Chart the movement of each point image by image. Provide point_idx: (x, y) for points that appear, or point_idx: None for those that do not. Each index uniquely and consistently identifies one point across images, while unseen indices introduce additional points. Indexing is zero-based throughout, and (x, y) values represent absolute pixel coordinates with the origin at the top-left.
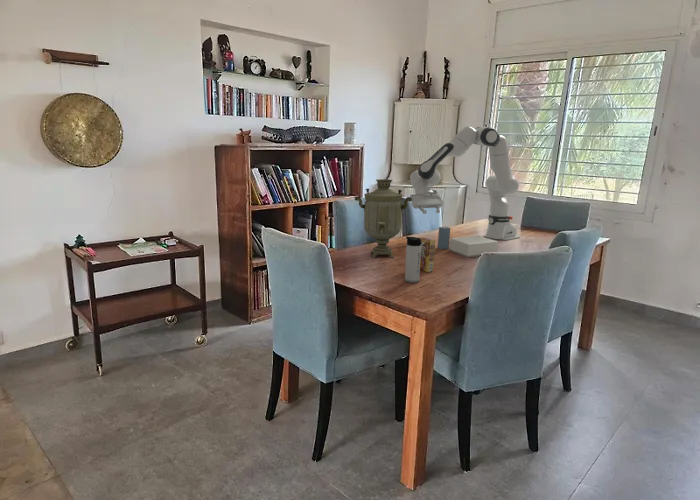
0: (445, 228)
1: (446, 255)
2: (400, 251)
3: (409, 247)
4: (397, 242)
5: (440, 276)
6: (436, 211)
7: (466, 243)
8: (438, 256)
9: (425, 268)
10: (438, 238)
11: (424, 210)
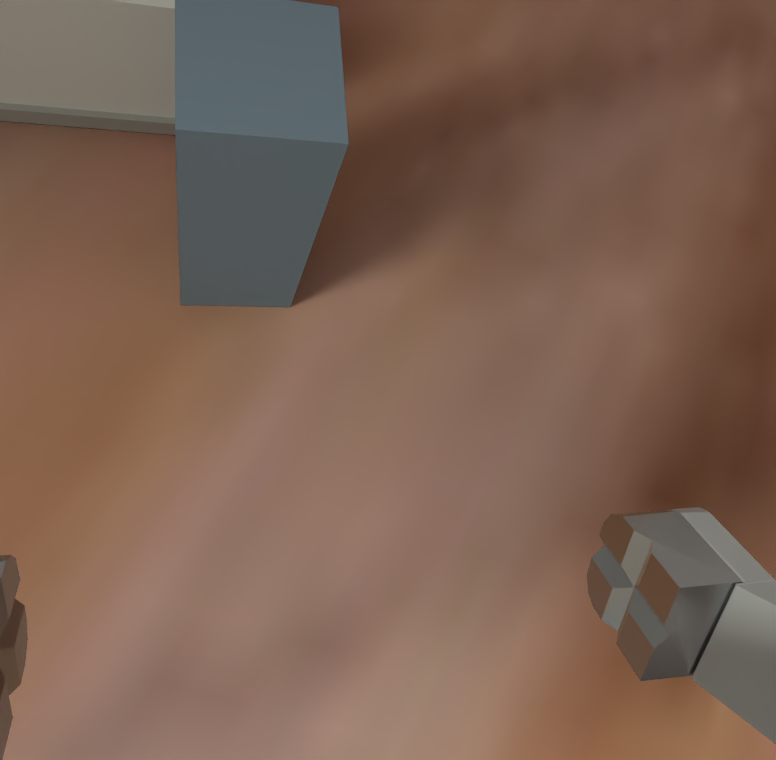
0: (296, 1)
1: (393, 4)
2: (767, 311)
3: None
4: (683, 747)
5: None
6: (5, 695)
7: None
8: (489, 14)
9: None
10: (310, 246)
11: (730, 557)
